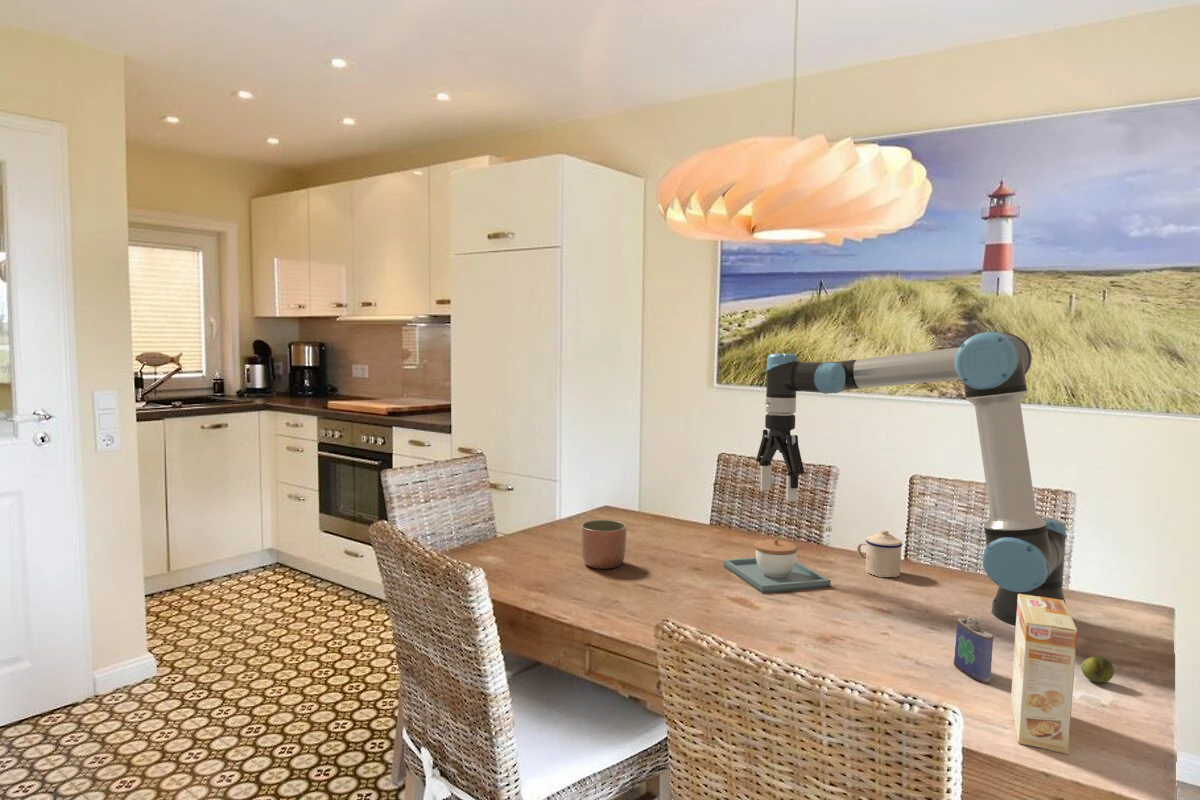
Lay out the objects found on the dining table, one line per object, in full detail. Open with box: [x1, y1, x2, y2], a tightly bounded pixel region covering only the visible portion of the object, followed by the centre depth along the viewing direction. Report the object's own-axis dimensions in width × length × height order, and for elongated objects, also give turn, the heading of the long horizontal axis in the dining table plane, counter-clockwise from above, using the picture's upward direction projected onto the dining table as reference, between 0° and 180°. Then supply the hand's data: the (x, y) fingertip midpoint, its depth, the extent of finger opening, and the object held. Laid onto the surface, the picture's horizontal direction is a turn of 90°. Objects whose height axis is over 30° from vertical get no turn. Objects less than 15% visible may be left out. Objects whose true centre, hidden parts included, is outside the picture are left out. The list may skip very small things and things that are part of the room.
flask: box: [953, 616, 994, 685], centre depth 140 cm, size 9×3×11 cm, turn 8°
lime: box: [1080, 656, 1115, 684], centre depth 137 cm, size 4×5×5 cm
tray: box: [722, 556, 831, 594], centre depth 196 cm, size 22×19×2 cm
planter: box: [580, 519, 627, 570], centre depth 204 cm, size 12×12×11 cm
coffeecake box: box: [1010, 594, 1078, 755], centre depth 120 cm, size 15×7×20 cm, turn 155°
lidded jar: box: [754, 538, 798, 578], centre depth 195 cm, size 11×11×9 cm
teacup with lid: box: [856, 529, 903, 578], centre depth 200 cm, size 12×9×12 cm
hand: (778, 495), depth 194 cm, fingers open, 13 cm apart
